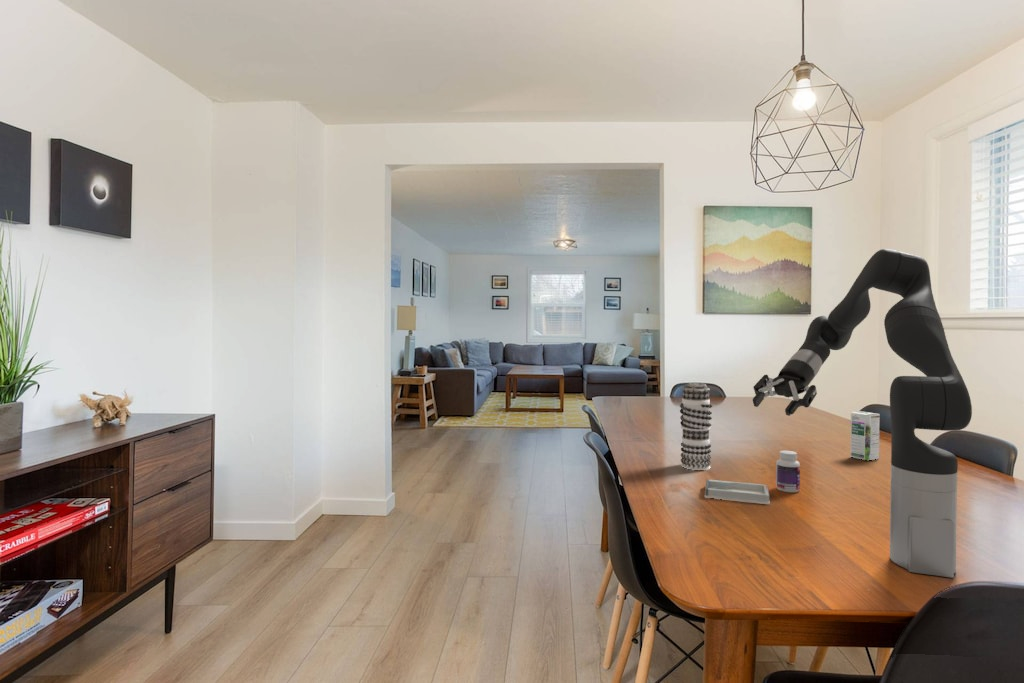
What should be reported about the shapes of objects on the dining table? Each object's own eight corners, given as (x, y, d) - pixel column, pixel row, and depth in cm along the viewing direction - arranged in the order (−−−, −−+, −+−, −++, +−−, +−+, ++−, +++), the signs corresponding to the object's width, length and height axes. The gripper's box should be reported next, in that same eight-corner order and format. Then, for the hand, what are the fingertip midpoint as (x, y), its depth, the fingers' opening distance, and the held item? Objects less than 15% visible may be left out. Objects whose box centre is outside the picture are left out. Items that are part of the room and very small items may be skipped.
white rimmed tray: (766, 492, 134) (766, 484, 134) (770, 504, 125) (770, 496, 125) (705, 486, 140) (705, 478, 139) (704, 497, 130) (704, 489, 130)
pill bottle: (802, 493, 133) (803, 455, 132) (779, 492, 134) (779, 454, 134) (795, 487, 138) (796, 450, 138) (773, 486, 139) (773, 449, 139)
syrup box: (849, 457, 168) (849, 411, 167) (861, 455, 170) (861, 410, 170) (868, 461, 163) (868, 414, 162) (879, 459, 165) (880, 413, 165)
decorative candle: (707, 463, 163) (707, 381, 162) (715, 471, 153) (716, 385, 153) (676, 462, 163) (676, 381, 163) (683, 470, 154) (683, 385, 153)
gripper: (772, 354, 147) (741, 391, 141) (826, 364, 136) (795, 405, 129) (777, 374, 151) (747, 411, 144) (830, 385, 139) (801, 426, 133)
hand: (770, 408), depth 137 cm, fingers open, 8 cm apart
